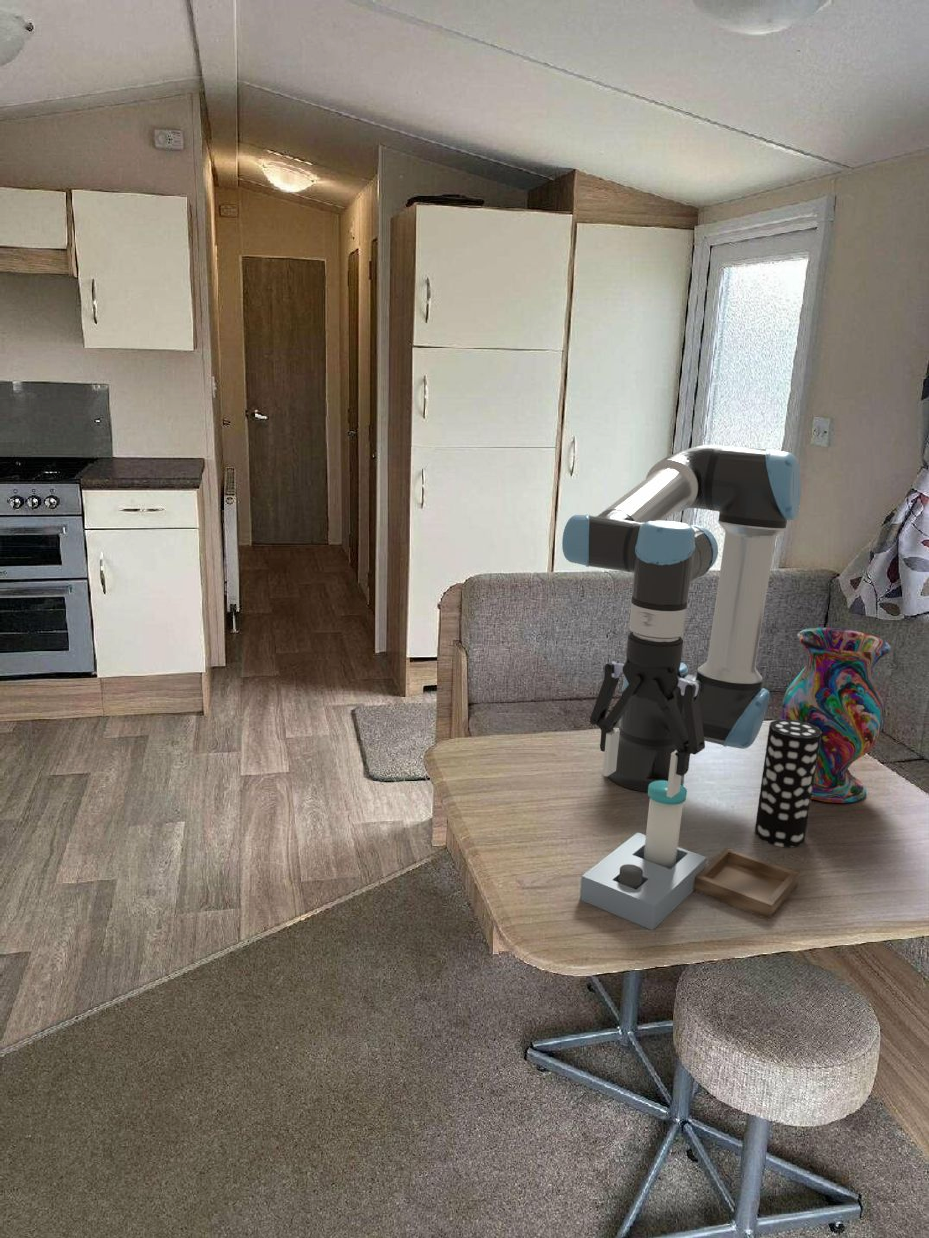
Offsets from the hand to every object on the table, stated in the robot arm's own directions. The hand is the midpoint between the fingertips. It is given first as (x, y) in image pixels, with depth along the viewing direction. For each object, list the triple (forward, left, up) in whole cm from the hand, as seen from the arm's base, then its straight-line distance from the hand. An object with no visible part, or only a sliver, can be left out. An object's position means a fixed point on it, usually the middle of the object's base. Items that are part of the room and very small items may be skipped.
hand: (640, 783), depth 136 cm
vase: (+9, +63, -20) cm, 67 cm away
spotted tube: (+10, +37, -20) cm, 43 cm away
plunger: (0, 0, -19) cm, 19 cm away
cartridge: (0, +10, -20) cm, 22 cm away
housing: (0, +5, -20) cm, 20 cm away
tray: (+12, +16, -20) cm, 28 cm away
